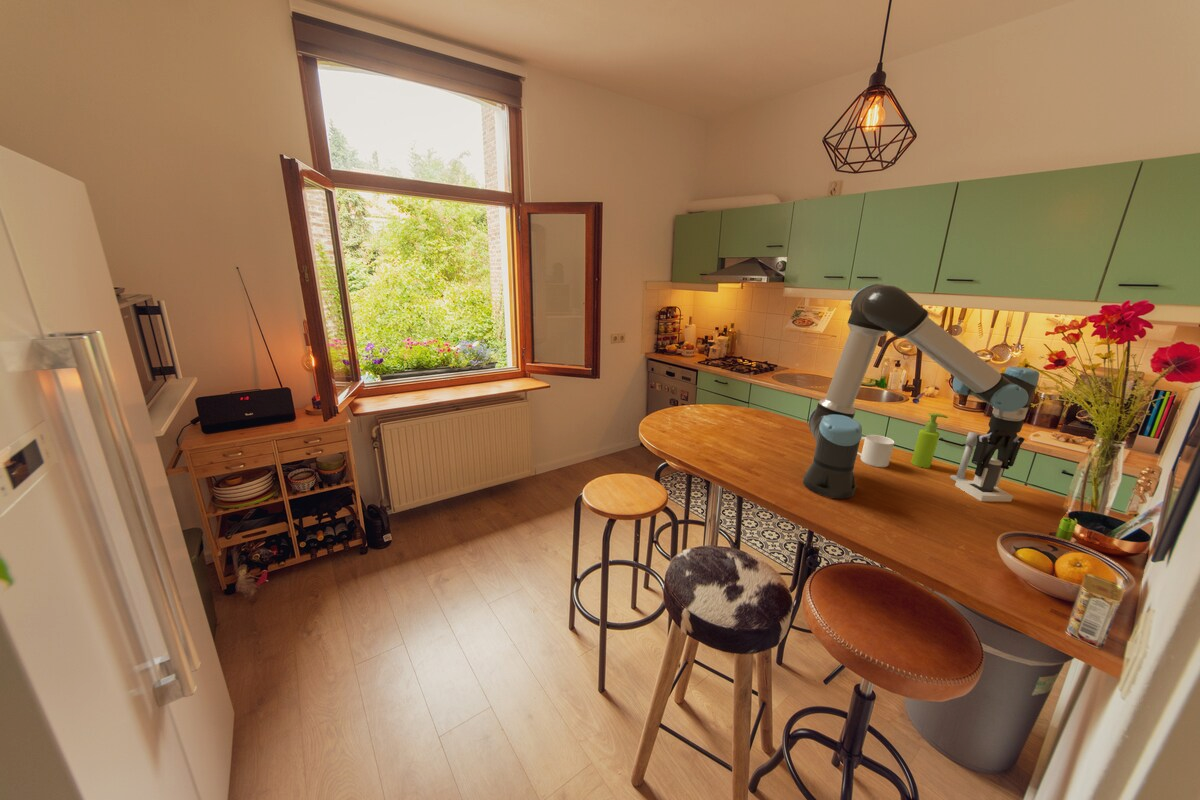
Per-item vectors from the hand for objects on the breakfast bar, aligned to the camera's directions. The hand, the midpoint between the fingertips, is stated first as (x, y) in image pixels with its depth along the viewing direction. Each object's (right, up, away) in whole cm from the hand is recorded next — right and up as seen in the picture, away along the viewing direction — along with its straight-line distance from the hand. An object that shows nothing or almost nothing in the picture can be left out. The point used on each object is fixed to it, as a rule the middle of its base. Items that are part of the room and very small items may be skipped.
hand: (984, 484), depth 139 cm
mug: (-23, +4, +23) cm, 33 cm away
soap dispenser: (-5, +3, +21) cm, 22 cm away
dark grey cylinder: (0, -3, +1) cm, 3 cm away
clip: (+5, +12, +4) cm, 13 cm away
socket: (0, -2, +4) cm, 4 cm away
